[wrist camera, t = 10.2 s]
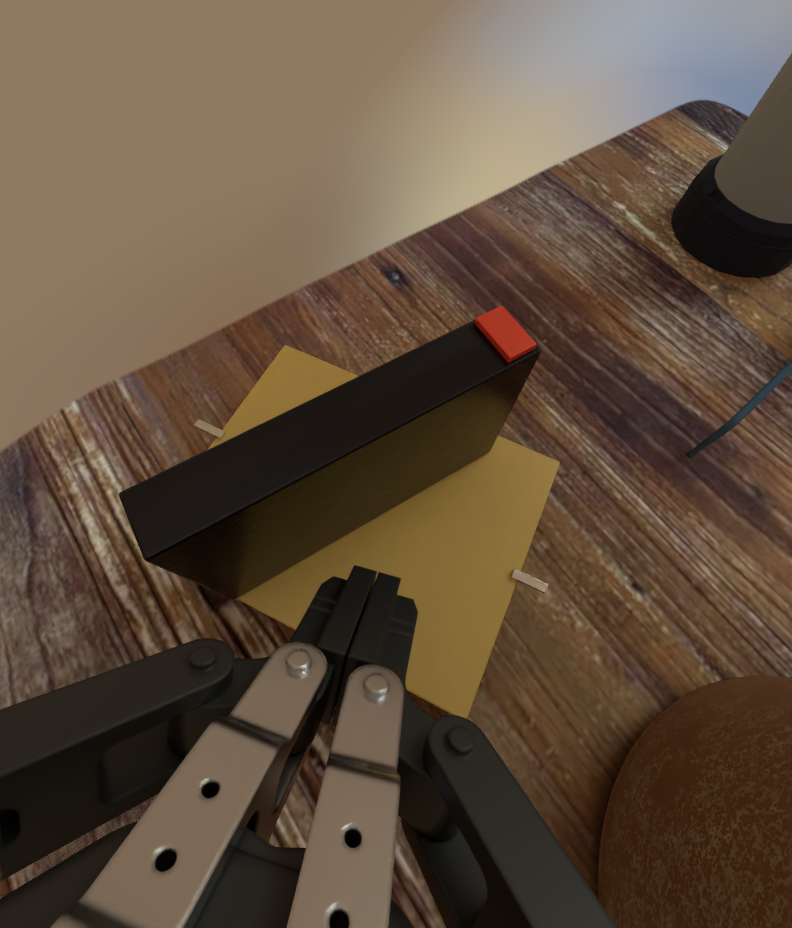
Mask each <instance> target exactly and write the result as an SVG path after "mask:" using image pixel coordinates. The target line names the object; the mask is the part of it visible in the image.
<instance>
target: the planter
mask: <svg viewBox="0 0 792 928" xmlns="http://www.w3.org/2000/svg"><path fill="white" fill-rule="evenodd" d="M598 900H599V901H600V903H601V904H602V906H603V907H604V909H605V910H606V911H607V913H608V914H609V916H610V917H611V919H612V920H613V922H614V923H615V925H616V926H617V927H618V928H792V677H758V676H754V677H740V678H733V679H727V680H723V681H719V682H715V683H712V684H709V685H706V686H703V687H701V688H699V689H696V690H694V691H692V692H690V693H688V694H687V695H685V696H683V697H681V698H680V699H678V700H677V701H675V702H674V703H672V704H671V705H670V706H669V707H667V708H666V709H665V710H664V711H662V712H661V713H660V714H659V715H658V716H657V717H656V718H655V719H654V720H653V721H652V722H651V723H650V724H649V725H648V727H647V728H646V729H645V730H644V731H643V733H642V734H641V735H640V737H639V738H638V739H637V741H636V742H635V744H634V745H633V747H632V748H631V750H630V752H629V754H628V755H627V757H626V759H625V761H624V763H623V765H622V767H621V769H620V771H619V773H618V776H617V778H616V781H615V784H614V786H613V789H612V792H611V795H610V798H609V802H608V806H607V810H606V814H605V818H604V823H603V829H602V835H601V843H600V851H599V866H598Z"/></svg>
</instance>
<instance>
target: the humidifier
mask: <svg viewBox="0 0 792 928" xmlns="http://www.w3.org/2000/svg"><path fill="white" fill-rule="evenodd" d="M672 226H673V229H674V233H675V236H676V237H677V239H678V240H679V241H680V243H681V244H682V246H683V247H684V248H685V249H686V250H687V251H688V252H689V253H691V254H692V255H693V256H694V257H695V258H697V259H698V260H699V261H701V262H703V263H705V264H707V265H709V266H711V267H712V268H714V269H716V270H719V271H722V272H726V273H729V274H733V275H736V276H744V277H763V276H768V275H773V274H776V273H778V272H780V271H781V270H783V269H785V268H786V267H788V266H789V265H790V264H791V263H792V54H791V55H790V57H789V58H788V59H787V61H786V63H785V64H784V65H783V67H782V68H781V70H780V72H779V73H778V74H777V76H776V77H775V79H774V80H773V82H772V83H771V85H770V86H769V88H768V89H767V91H766V92H765V94H764V95H763V97H762V98H761V100H760V101H759V103H758V104H757V106H756V107H755V109H754V110H753V112H752V113H751V115H750V116H749V118H748V119H747V121H746V122H745V124H744V125H743V127H742V128H741V130H740V131H739V132H738V134H737V135H736V137H735V138H734V140H733V141H732V143H731V144H730V146H729V147H728V149H727V150H726V152H725V153H724V154H723V155H720V156H718V157H716V158H714V159H712V160H710V161H709V162H708V163H707V165H706V166H705V167H704V168H703V169H702V170H701V172H700V173H699V174H698V175H697V176H696V177H695V179H694V180H693V181H692V183H691V184H690V186H689V187H688V189H687V191H686V192H685V194H684V195H683V197H682V198H681V200H680V201H679V203H678V205H677V206H676V208H675V209H674V212H673V217H672Z"/></svg>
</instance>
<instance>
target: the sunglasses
mask: <svg viewBox="0 0 792 928" xmlns="http://www.w3.org/2000/svg"><path fill="white" fill-rule="evenodd" d="M791 372H792V360H791V361H790V362H789V363H788V364H787V365H786V366H785V367H784V368H783V369H782V370H781V371H780V372H779V373H778V374H777V375H776V376H775V377H774V378H772V379H771V380H770V381H769V382H768V383H767V384H766V385H765V386H764V387H763V388H762V389H761V390H760V391H759V392H758V393H757V394H756V395H755V396H754V397H753V398H752V399H751V400H750V401H749V402H748V403H747V404H746V405H745V406H744V407H743V408H742V409H741V410H740V411H738V412H737V413H736V414H735V415H734V416H733V417H732V418H731V419H730V420H729V421H728V422H727V423H725V424H724V425H723V426H722V427H720V428H719V429H718V430H717V431H715V432H714V433H713V434H712V435H710V436H709V437H708V438H706V439H705V440H704V441H703V442H701V443H700V444H699V445H698V446H696V447H695V448H694V449H693V450H691V451H690V453H689V456H693V455H694V454H696V453H697V452H699V451H700V450H702V449H703V448H705V447H706V446H708V445H709V444H711V443H712V442H714V441H715V440H717V439H718V438H720V437H721V436H723V435H724V434H726V433H727V432H728V431H730V430H731V429H732V428H734V427H735V426H736V425H737V424H738V423H739V422H740V421H741V420H742V419H744V418H745V417H746V416H747V415H748V414H749V413H750V412H751V411H752V410H753V409H754V408H755V407H756V406H757V405H758V404H759V403H760V402H761V401H762V400H763V399H764V398H765V397H766V396H767V395H768V394H769V393H770V392H771V391H772V390H773V389H774V388H775V387H776V386H777V385H778V384H779V383H780V382H781V381H782V380H783V379H784V378H785V377H786V376H787V375H789V374H790V373H791Z"/></svg>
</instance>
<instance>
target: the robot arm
mask: <svg viewBox="0 0 792 928" xmlns="http://www.w3.org/2000/svg"><path fill="white" fill-rule="evenodd" d="M376 575H377V571H374V570H371V569H367V568H364V567H360V566H357V565H354V567H353V569H352V571H351V573H350V575H349V577H348V579H347V580H345V579H342V578H338V577H335V576H333V577H331V578H330V579H328V580H327V581H325V582H324V583H322V584H321V585H320V587H319V589H318V591H317V593H316V594H315V597H314V598H313V600H312V602H311V603H310V606H309V607H308V609H307V611H306V612H305V614H304V616H303V618H302V620H301V621H300V623H299V625H298V627H297V629H296V630H295V632H294V634H293V636H292V638H291V639H290V641H289V643H287V644H285V645H282V646H281V647H279V648H278V649H276V650H275V651H274V652H273V654H272V655H271V656H269V657H266V658H260V659H238V658H235V657H234V652H233V650H232V649H231V647H230V646H229V645H227V644H226V643H224V642H223V641H220V640H217V639H209V638H206V639H198V640H194V641H191V642H188V643H185V644H182V645H180V646H177V647H174V648H171V649H168V650H166V651H163V652H160V653H157V654H154V655H152V656H149V657H146V658H143V659H141V660H138V661H135V662H132V663H129V664H127V665H124V666H121V667H118V668H116V669H113V670H110V671H107V672H104V673H102V674H99V675H96V676H93V677H90V678H88V679H85V680H82V681H79V682H77V683H74V684H71V685H68V686H65V687H63V688H60V689H57V690H54V691H51V692H49V693H46V694H43V695H40V696H38V697H35V698H32V699H29V700H26V701H24V702H21V703H18V704H15V705H12V706H10V707H7V708H4V709H1V710H0V881H1V880H3V879H5V878H7V877H9V876H10V875H12V874H14V873H16V872H18V871H19V870H21V869H23V868H25V867H27V866H28V865H30V864H32V863H34V862H36V861H37V860H39V859H41V858H43V857H45V856H46V855H48V854H50V853H52V852H54V851H55V850H57V849H59V848H61V847H63V846H65V845H66V844H68V843H70V842H72V841H74V840H75V839H77V838H79V837H81V836H83V835H84V834H86V833H88V832H90V831H92V830H93V829H95V828H97V827H99V826H101V825H102V824H104V823H106V822H108V821H110V820H111V819H113V818H115V817H117V816H119V815H120V814H122V813H124V812H126V811H128V810H129V809H131V808H133V807H135V806H137V805H138V804H140V803H142V802H144V801H146V800H147V799H149V798H151V797H153V796H155V795H156V794H158V793H159V794H158V795H157V797H156V798H155V800H154V801H153V802H152V804H151V805H150V806H149V808H148V809H147V810H146V812H145V813H144V814H143V816H142V817H141V819H140V820H139V821H137V822H134V823H132V824H129V825H126V826H124V827H121V828H119V829H117V830H115V831H113V832H111V833H109V834H107V835H106V836H104V837H102V838H100V839H99V840H97V841H95V842H94V843H92V844H90V845H89V846H87V847H85V848H84V849H82V850H80V851H79V852H77V853H75V854H74V855H72V856H71V857H69V858H67V859H66V860H64V861H62V862H61V863H59V864H57V865H56V866H54V867H52V868H51V869H49V870H47V871H46V872H44V873H42V874H41V875H39V876H37V877H36V878H34V879H32V880H31V881H29V882H28V883H26V884H24V885H23V886H21V887H19V888H18V889H16V890H14V891H13V892H11V893H9V894H8V895H6V896H4V897H3V898H1V899H0V928H413V927H412V925H411V923H410V922H409V920H408V919H407V917H406V916H405V914H404V913H403V911H402V910H401V909H400V908H399V906H398V905H397V904H396V903H395V902H394V901H393V900H392V899H391V891H392V880H393V868H394V856H395V844H396V832H397V821H398V815H399V816H400V817H401V822H402V828H403V831H404V833H405V836H406V838H407V840H408V843H409V845H410V847H411V849H412V852H413V854H414V856H415V858H416V860H417V863H418V865H419V867H420V869H421V872H422V874H423V876H424V878H425V881H426V883H427V885H428V887H429V890H430V892H431V894H432V896H433V898H434V901H435V903H436V905H437V907H438V910H439V912H440V914H441V916H442V919H443V921H444V923H445V925H446V928H618V927H617V926H616V925H615V923H614V922H613V920H612V919H611V917H610V916H609V914H608V913H607V911H606V910H605V909H604V907H603V906H602V904H601V903H600V901H599V900H598V898H597V897H596V896H595V894H594V893H593V891H592V890H591V888H590V887H589V885H588V884H587V882H586V881H585V880H584V878H583V877H582V875H581V874H580V872H579V871H578V869H577V868H576V867H575V865H574V864H573V862H572V861H571V859H570V858H569V856H568V855H567V853H566V852H565V851H564V849H563V848H562V846H561V845H560V843H559V842H558V840H557V839H556V838H555V836H554V835H553V833H552V832H551V830H550V829H549V827H548V826H547V825H546V823H545V822H544V820H543V819H542V817H541V816H540V814H539V813H538V811H537V810H536V809H535V807H534V806H533V804H532V803H531V801H530V800H529V798H528V797H527V796H526V794H525V793H524V791H523V790H522V788H521V787H520V785H519V784H518V782H517V781H516V780H515V778H514V777H513V775H512V774H511V772H510V771H509V769H508V768H507V767H506V765H505V764H504V762H503V761H502V759H501V758H500V756H499V755H498V753H497V752H496V751H495V749H494V748H493V746H492V745H491V743H490V742H489V740H488V739H487V738H486V736H485V735H484V733H483V732H482V731H481V729H480V728H479V727H478V726H477V725H475V724H474V723H473V722H471V721H470V720H468V719H466V718H464V717H461V716H457V715H445V716H442V717H440V718H438V719H437V720H436V719H434V718H433V717H431V716H430V715H428V714H426V713H425V712H424V711H422V710H421V709H420V708H419V707H417V706H416V705H415V703H414V702H413V701H412V700H411V698H410V696H409V694H408V692H407V689H406V683H405V680H406V674H407V668H408V663H409V658H410V653H411V648H412V642H413V637H414V632H415V626H416V621H417V616H418V611H417V608H416V605H415V602H414V599H411V598H407V597H404V596H400V595H397V593H398V589H399V585H400V581H401V578H399V577H395V576H392V575H388V574H385V573H382V572H379V573H378V575H377V578H376ZM375 579H376V580H375ZM336 704H337V705H336ZM335 707H336V710H335ZM334 710H335V714H334V719H333V723H332V725H335V726H336V730H335V734H334V738H333V742H332V746H331V750H330V754H329V758H328V761H327V765H326V770H325V774H324V778H323V782H322V786H321V790H320V794H319V798H318V802H317V806H316V810H315V814H314V818H313V822H312V827H311V831H310V835H309V839H308V843H307V847H306V848H280V847H274V846H272V845H270V844H269V843H268V842H269V839H270V836H271V834H272V831H273V829H274V826H275V824H276V822H277V819H278V817H279V815H280V813H281V811H282V809H283V806H284V804H285V802H286V800H287V798H288V796H289V794H290V791H291V789H292V787H293V785H294V783H295V781H296V778H297V776H298V774H299V772H300V770H301V768H302V766H303V763H304V761H305V759H306V757H307V755H308V753H309V750H310V747H311V743H312V741H313V740H314V737H315V735H316V732H317V730H318V727H319V724H320V722H321V721H322V722H325V723H328V724H330V721H331V718H332V716H333V713H334Z"/></svg>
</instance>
